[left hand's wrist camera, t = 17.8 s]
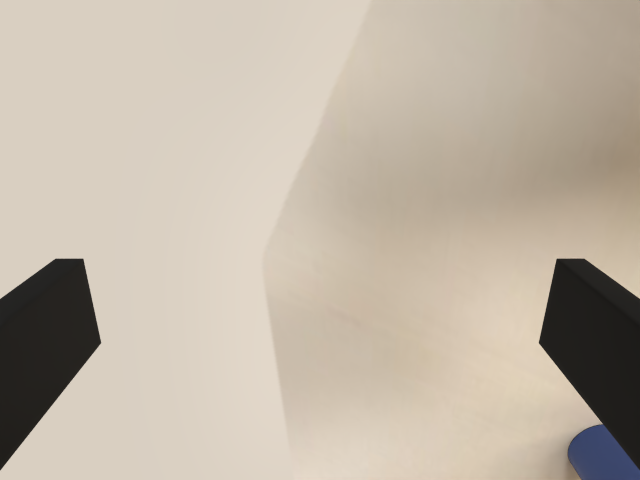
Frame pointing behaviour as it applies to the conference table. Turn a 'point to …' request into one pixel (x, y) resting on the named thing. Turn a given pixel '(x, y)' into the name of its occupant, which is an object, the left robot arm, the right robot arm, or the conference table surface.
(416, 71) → the conference table surface
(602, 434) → the can
